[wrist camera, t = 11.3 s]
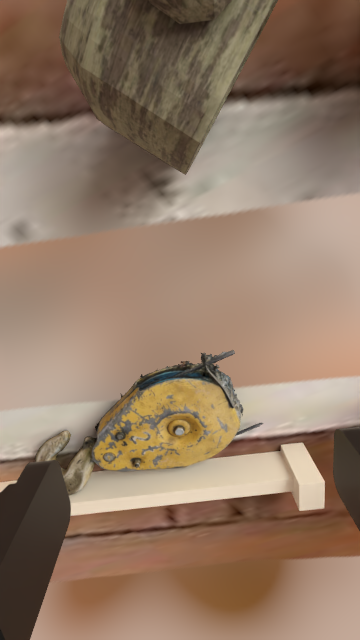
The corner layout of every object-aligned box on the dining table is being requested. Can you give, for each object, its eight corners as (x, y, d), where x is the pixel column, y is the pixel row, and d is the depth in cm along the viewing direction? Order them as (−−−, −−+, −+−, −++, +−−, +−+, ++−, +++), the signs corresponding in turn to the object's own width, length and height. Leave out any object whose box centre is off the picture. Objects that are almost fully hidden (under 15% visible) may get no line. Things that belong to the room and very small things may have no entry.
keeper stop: (302, 442, 46) (324, 482, 39) (302, 465, 47) (324, 508, 40) (-42, 481, 46) (-78, 526, 40) (-33, 503, 48) (-67, 550, 41)
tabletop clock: (181, 184, 35) (201, 129, 11) (103, 136, 33) (-67, -45, 10) (258, 39, 31) (532, -507, 7) (173, -23, 30) (180, -964, 6)
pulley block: (-11, 457, 38) (238, 359, 35) (8, 421, 43) (226, 333, 40) (57, 525, 44) (273, 447, 41) (67, 485, 49) (259, 414, 46)
